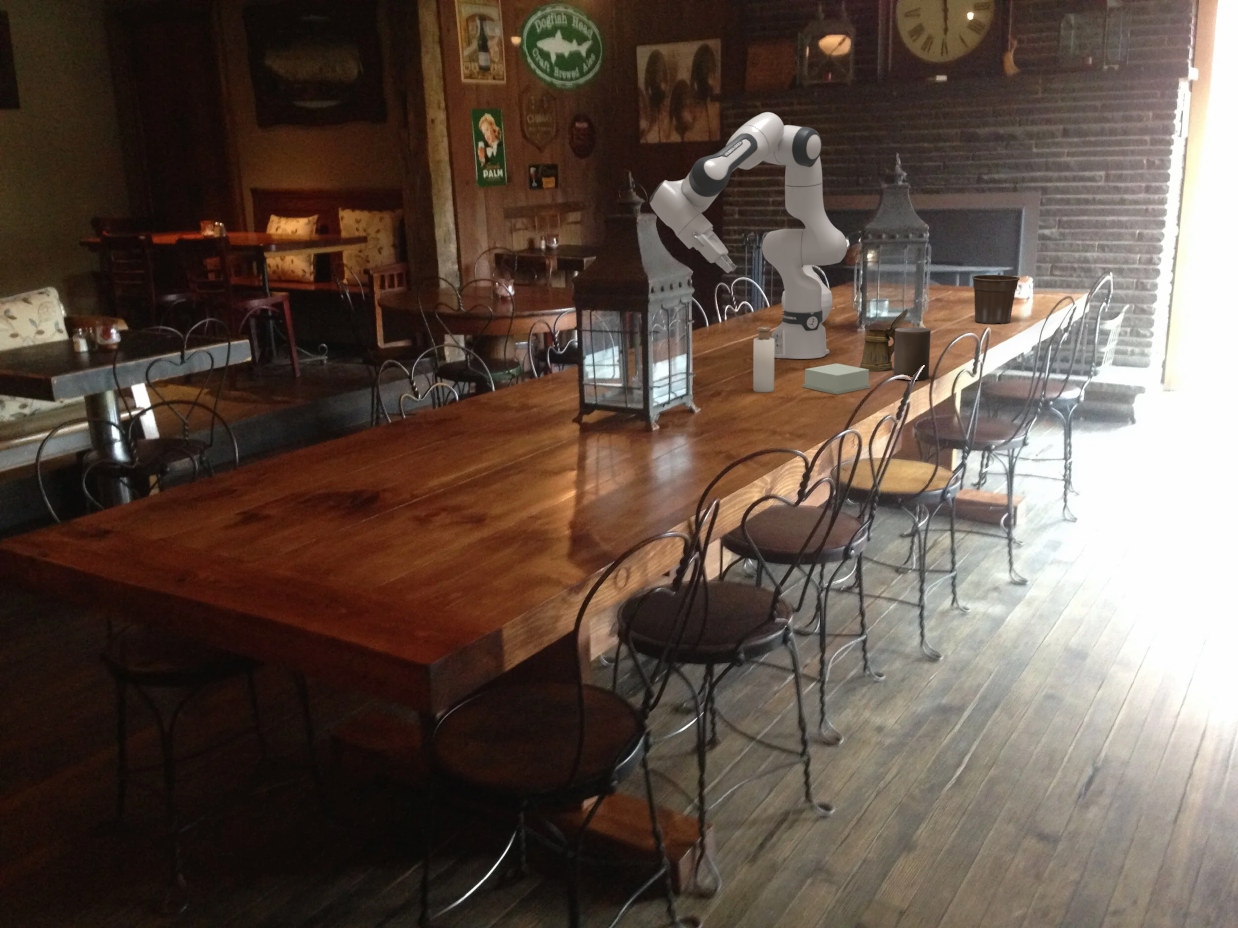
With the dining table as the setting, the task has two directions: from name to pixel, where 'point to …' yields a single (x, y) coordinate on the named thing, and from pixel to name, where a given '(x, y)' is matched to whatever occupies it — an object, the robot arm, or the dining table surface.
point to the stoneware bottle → (763, 361)
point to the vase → (826, 293)
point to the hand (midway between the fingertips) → (732, 270)
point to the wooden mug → (880, 346)
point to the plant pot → (994, 298)
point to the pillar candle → (912, 351)
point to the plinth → (836, 378)
